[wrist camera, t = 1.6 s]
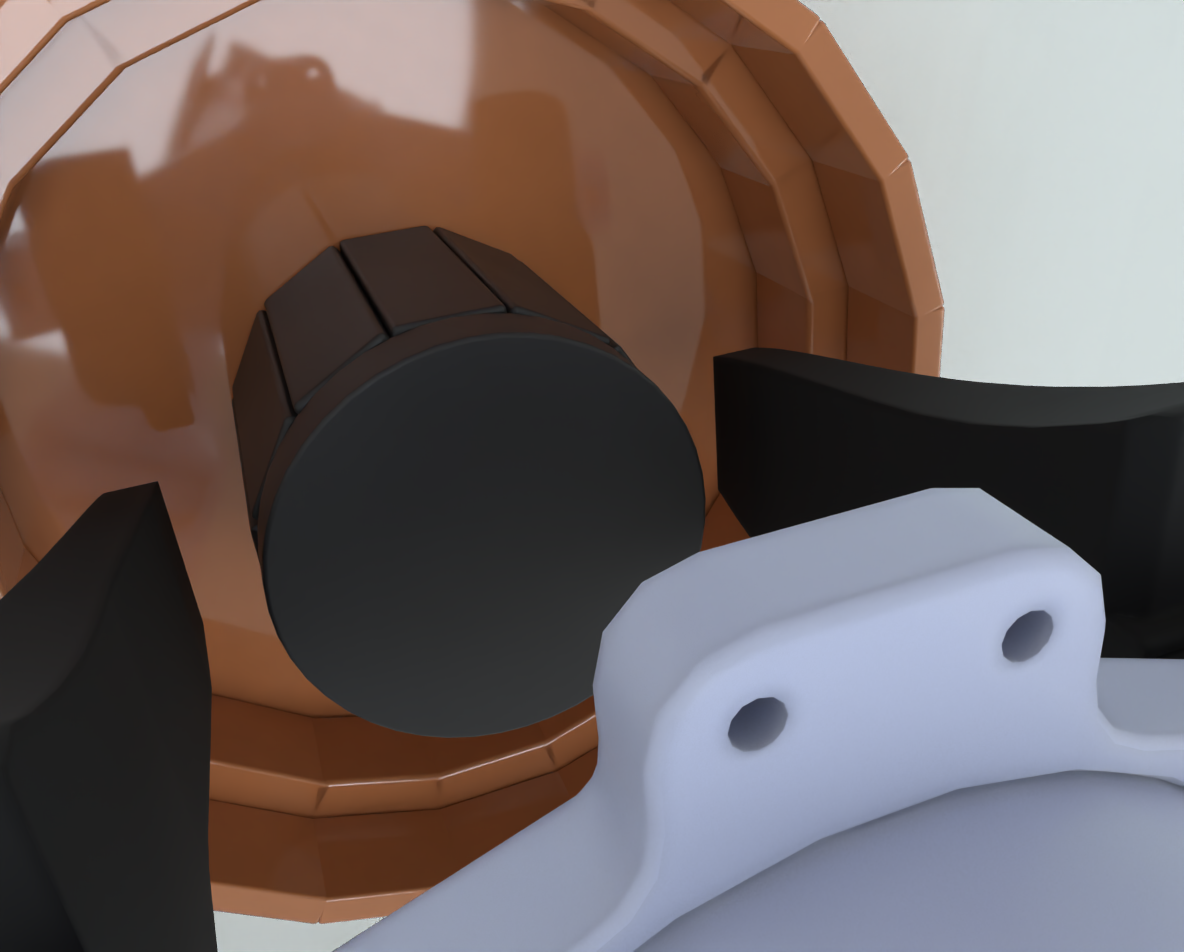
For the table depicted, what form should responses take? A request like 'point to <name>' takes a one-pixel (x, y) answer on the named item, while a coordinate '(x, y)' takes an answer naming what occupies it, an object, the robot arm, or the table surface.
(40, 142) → the round terracotta dish
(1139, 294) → the table surface
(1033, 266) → the table surface
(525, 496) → the cap
